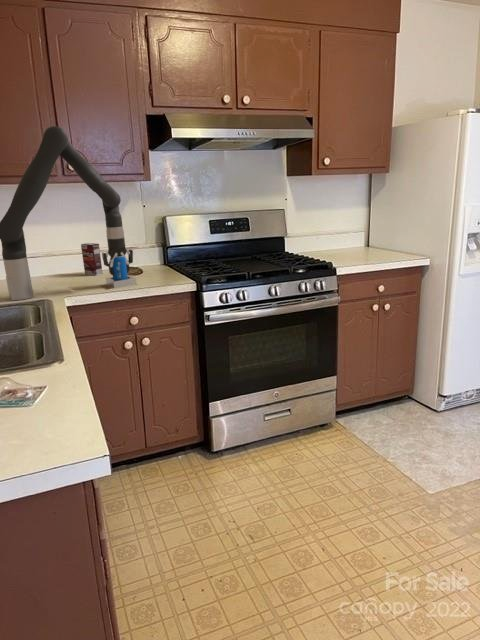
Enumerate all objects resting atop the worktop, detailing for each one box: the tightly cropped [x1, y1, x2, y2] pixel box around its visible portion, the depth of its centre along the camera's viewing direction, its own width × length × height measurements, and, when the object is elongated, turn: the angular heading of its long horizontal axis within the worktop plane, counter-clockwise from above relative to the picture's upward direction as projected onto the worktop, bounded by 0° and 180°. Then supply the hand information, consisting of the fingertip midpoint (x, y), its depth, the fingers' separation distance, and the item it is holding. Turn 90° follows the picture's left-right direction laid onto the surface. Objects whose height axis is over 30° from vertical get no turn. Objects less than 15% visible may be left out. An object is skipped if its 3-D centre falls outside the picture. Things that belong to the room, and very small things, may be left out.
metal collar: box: [105, 274, 138, 289], centre depth 219 cm, size 10×10×3 cm
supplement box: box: [80, 242, 103, 276], centre depth 248 cm, size 9×5×16 cm, turn 60°
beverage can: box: [111, 256, 128, 281], centre depth 218 cm, size 6×6×12 cm
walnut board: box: [99, 284, 114, 291], centre depth 219 cm, size 15×10×1 cm, turn 124°
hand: (119, 273), depth 218 cm, fingers closed on beverage can, 6 cm apart
